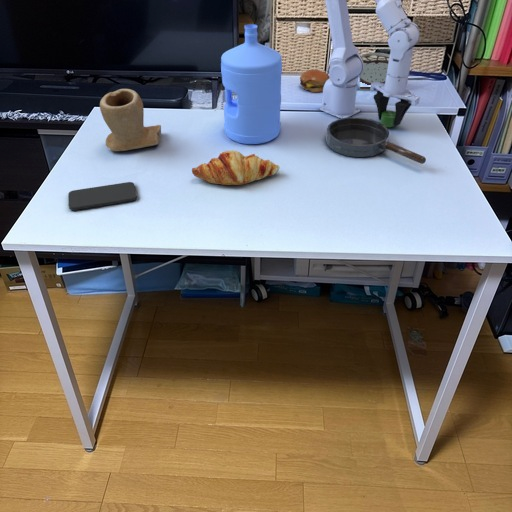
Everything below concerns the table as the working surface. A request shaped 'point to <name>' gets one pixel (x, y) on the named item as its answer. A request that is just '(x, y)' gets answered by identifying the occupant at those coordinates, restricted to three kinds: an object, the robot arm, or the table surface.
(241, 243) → the table surface
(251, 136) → the water jug
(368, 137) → the pan
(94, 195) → the phone
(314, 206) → the table surface
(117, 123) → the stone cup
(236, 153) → the croissant
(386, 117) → the green short cylinder
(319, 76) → the burger
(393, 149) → the pan handle
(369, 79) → the food container
